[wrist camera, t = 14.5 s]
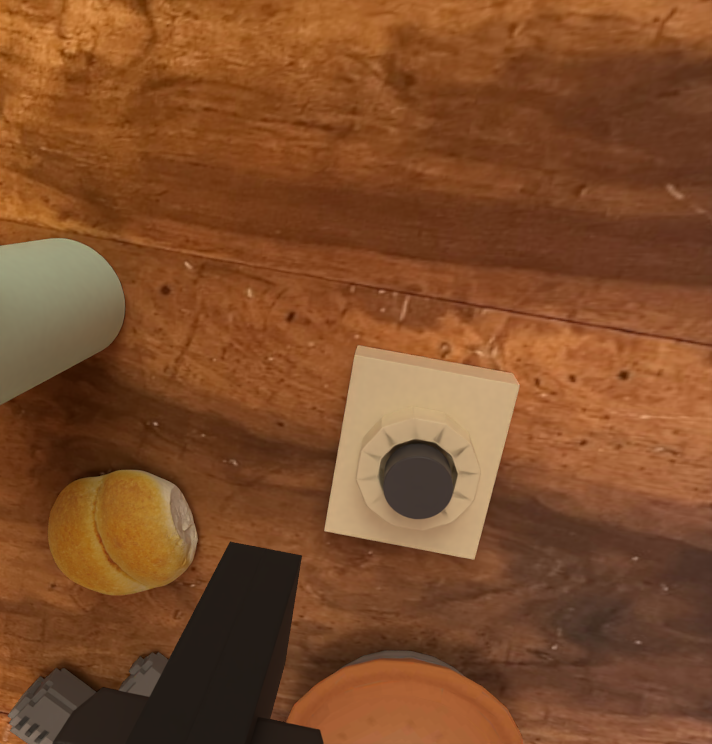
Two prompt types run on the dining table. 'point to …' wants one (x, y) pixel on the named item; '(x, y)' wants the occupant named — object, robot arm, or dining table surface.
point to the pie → (403, 704)
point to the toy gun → (71, 698)
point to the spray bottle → (53, 310)
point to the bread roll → (122, 532)
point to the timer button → (417, 481)
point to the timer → (426, 426)
